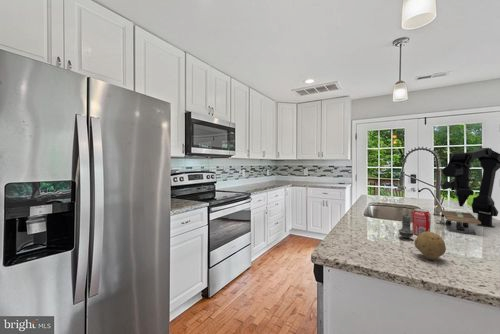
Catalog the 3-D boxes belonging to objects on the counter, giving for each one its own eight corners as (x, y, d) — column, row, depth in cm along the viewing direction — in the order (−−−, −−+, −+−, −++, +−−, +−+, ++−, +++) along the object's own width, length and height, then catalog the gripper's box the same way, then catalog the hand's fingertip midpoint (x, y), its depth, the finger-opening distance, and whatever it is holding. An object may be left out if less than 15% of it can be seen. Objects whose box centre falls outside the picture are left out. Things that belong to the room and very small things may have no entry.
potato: (408, 255, 86) (409, 229, 86) (422, 252, 89) (423, 226, 89) (436, 266, 78) (437, 237, 77) (450, 261, 81) (451, 233, 81)
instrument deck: (441, 212, 132) (441, 207, 132) (470, 214, 125) (470, 210, 125) (447, 220, 114) (447, 215, 114) (480, 224, 107) (481, 219, 107)
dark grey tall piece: (416, 241, 100) (417, 214, 100) (401, 240, 102) (402, 214, 101) (410, 237, 106) (410, 211, 106) (396, 236, 107) (396, 211, 107)
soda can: (423, 232, 114) (424, 208, 113) (433, 237, 107) (434, 211, 106) (408, 232, 114) (409, 208, 114) (417, 236, 107) (418, 211, 107)
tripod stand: (444, 223, 129) (444, 214, 129) (468, 226, 124) (468, 216, 123) (448, 231, 116) (449, 220, 116) (475, 234, 110) (476, 223, 110)
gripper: (439, 175, 131) (438, 202, 132) (444, 177, 116) (443, 207, 116) (466, 175, 125) (465, 204, 125) (474, 178, 109) (473, 210, 110)
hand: (460, 206), depth 119 cm, fingers closed
